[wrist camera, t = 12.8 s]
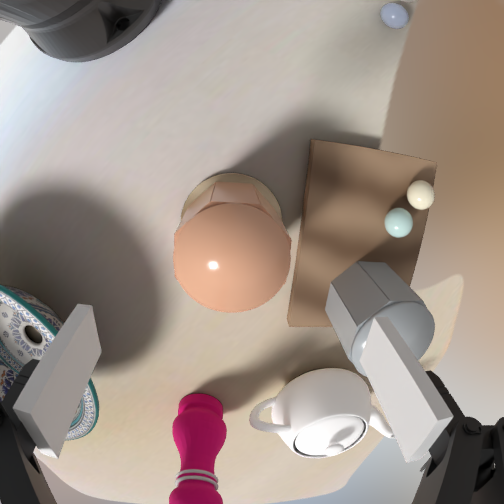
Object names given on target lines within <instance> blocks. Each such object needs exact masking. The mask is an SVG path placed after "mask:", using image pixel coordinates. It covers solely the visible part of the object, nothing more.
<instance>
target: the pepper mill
mask: <svg viewBox="0 0 504 504" xmlns="http://www.w3.org/2000/svg"><path fill="white" fill-rule="evenodd" d="M222 419H223V406H222V404H221V403H220V401H219V400H217V399H216V398H214V397H212V396H210V395H207V394H200V393H198V394H191V395H187V396H186V397H184V398H183V399H182V400H181V401H180V403H179V409H178V416H177V417H176V418H175V420H174V422H173V437H174V441H175V444H176V446H177V448H178V451H179V454H180V458H181V470H180V472H178V473H177V474H176V481H175V485H176V487H177V488H175V489H174V490H173V491H172V492H171V494H170V497H169V504H223V500H222V498H221V495H220V494H219V493H218V492H217V491H216V490H217V489H218V484H217V483H218V478H217V477H216V476H215V475H214V464H215V459H216V456H217V454H218V453H219V451H220V449H221V448H222V446H223V444H224V442H225V439H226V432H227V429H226V425H225V423H224V421H223V420H222Z"/></svg>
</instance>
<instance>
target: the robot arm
mask: <svg viewBox="0 0 504 504" xmlns="http://www.w3.org/2000/svg"><path fill="white" fill-rule="evenodd" d="M161 2H162V0H0V20H3V21H6V22H9V23H12V24H15V25H18V26H21V27H22V28H23V29H24V30H25V31H26V32H27V33H28V35H29V36H30V39H31V40H32V42H33V43H34V45H35V46H36V47H37V48H38V49H39V50H40V51H42V52H43V53H45V54H46V55H48V56H50V57H53V58H56V59H60V60H63V61H67V62H86V61H91V60H95V59H98V58H101V57H104V56H106V55H109V54H111V53H113V52H115V51H116V50H118V49H120V48H121V47H123V46H125V45H126V44H127V43H129V42H130V41H131V40H133V39H134V38H135V37H136V36H137V35H138V34H139V33H140V32H141V31H142V30H143V29H144V28H145V27H146V26H147V25H148V24H149V22H150V21H151V20H152V18H153V17H154V15H155V14H156V12H157V10H158V9H159V7H160V4H161ZM101 352H102V350H101V346H100V342H99V337H98V333H97V328H96V323H95V318H94V313H93V307H92V305H84V304H77V306H76V307H75V309H74V310H73V311H72V313H71V314H70V316H69V317H68V319H67V320H66V322H65V323H64V325H63V326H62V328H61V329H60V331H59V332H58V334H57V335H56V337H55V338H54V340H53V341H52V343H51V344H50V346H49V347H48V349H47V350H46V352H45V354H44V355H43V357H42V358H41V360H37V359H32V360H30V361H29V362H28V363H26V364H25V365H24V366H23V368H22V369H21V371H20V372H19V374H18V376H17V377H16V379H15V380H14V383H13V384H12V385H11V387H10V389H9V390H8V392H7V394H6V395H5V397H4V399H3V400H2V402H0V500H1V503H2V504H57V503H56V501H55V499H54V497H53V495H52V493H51V491H50V488H49V487H48V484H47V482H46V480H45V477H44V475H43V473H42V471H41V468H40V466H39V464H38V461H37V459H36V456H35V455H34V453H33V451H34V449H35V446H37V448H38V449H39V451H40V452H41V454H44V455H48V456H51V457H54V458H57V459H58V458H59V455H60V452H61V449H62V447H63V444H64V441H65V438H66V436H67V433H68V431H69V428H70V425H71V423H72V420H73V418H74V415H75V413H76V410H77V408H78V405H79V403H80V400H81V398H82V396H83V393H84V391H85V388H86V386H87V384H88V381H89V379H90V377H91V375H92V372H93V370H94V368H95V366H96V363H97V361H98V359H99V357H100V354H101ZM360 363H361V365H362V367H363V369H364V371H365V373H366V375H367V377H368V379H369V381H370V384H371V386H372V388H373V390H374V392H375V394H376V396H377V398H378V401H379V403H380V405H381V407H382V409H383V411H384V414H385V416H386V418H387V420H388V422H389V425H390V427H391V429H392V431H393V433H394V436H395V438H396V440H397V442H398V445H399V447H400V449H401V451H402V454H403V456H404V458H405V461H406V463H408V462H412V461H416V460H419V459H422V458H423V457H424V455H425V454H426V453H427V452H428V450H429V452H430V454H431V457H430V458H429V460H428V461H427V462H426V463H425V464H424V466H423V467H422V468H421V470H420V471H423V470H424V469H425V471H424V474H423V477H422V480H421V482H420V485H419V487H418V490H417V493H416V495H415V498H414V500H413V502H412V504H504V417H502V418H500V419H499V421H498V422H497V423H496V424H495V425H494V426H493V425H491V426H490V425H486V426H485V425H484V426H482V425H481V423H480V422H479V421H478V420H476V419H474V418H472V417H465V416H464V415H463V413H462V411H461V410H460V408H459V407H458V405H457V403H456V402H455V401H454V399H453V397H452V396H451V394H449V391H448V390H447V388H446V387H445V385H444V384H443V382H442V381H441V379H440V378H439V377H438V376H437V375H436V374H434V373H433V372H432V371H424V369H423V367H422V366H421V364H420V363H419V361H418V360H417V359H416V357H415V356H414V354H413V353H412V351H411V350H410V348H409V347H408V345H407V344H406V342H405V341H404V339H403V338H402V337H401V335H400V334H399V332H398V331H397V329H396V328H395V327H394V325H393V324H392V322H391V321H390V320H389V318H388V317H374V319H373V322H372V325H371V329H370V332H369V335H368V338H367V341H366V344H365V347H364V350H363V352H362V355H361V358H360ZM494 463H495V467H494Z"/></svg>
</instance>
